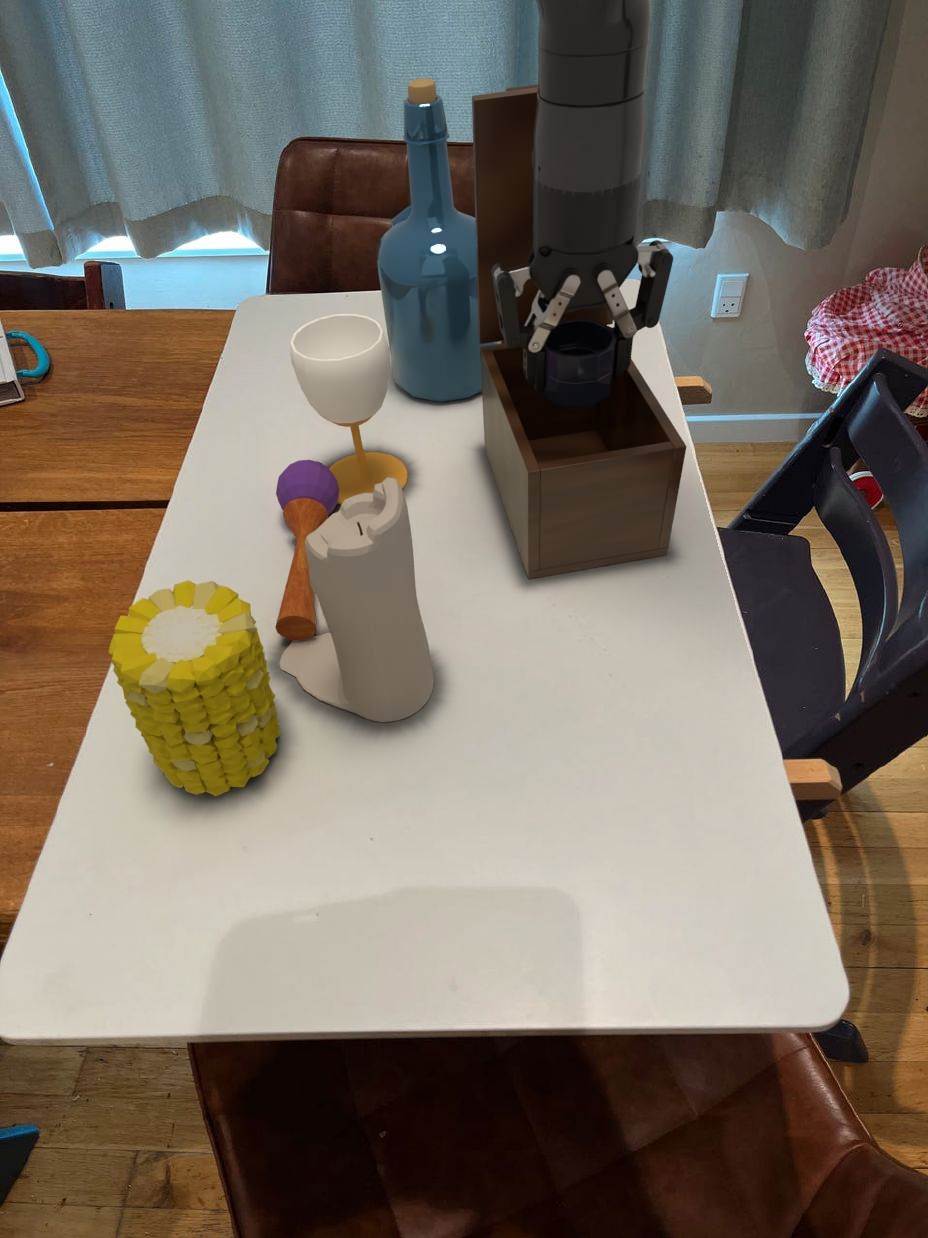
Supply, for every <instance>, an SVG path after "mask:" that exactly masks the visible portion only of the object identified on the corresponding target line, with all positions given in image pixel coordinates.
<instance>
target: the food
mask: <svg viewBox="0 0 928 1238" xmlns="http://www.w3.org/2000/svg"><path fill="white" fill-rule="evenodd" d="M256 623H257V621H256V620H255V618H254V617H253V616H252V612H251V603H249V602H247V601H245V600H243V599H241V598H239V593H238V592H236V591H234V590H233V589H231V588H230V587H228V586H224V585H219V584H218V583H216V582H215V581H214V580H209V581H205V582H202V583H197V584H196V583H194V582H193V581H191V580H190V579H188V580H185V581H181V582H178V583H175V584H174V585H173V589H171V588H168V587H167V588H163V589H157V590H156V591H154V592H153V593H152V594H150V595H149V596H148V599H147V598H144V597H142V598H140V599H139V600H138V601H136V602H135V603H133V604H132V605H131V606H129V607H128V615H123V614H122V615H120V616H119V619H118V620H117V622H116V625H115V626H114V633H113V635H112V638H111V640H110V644H109V647H108V654H109V655H110V656H111V657H112V658H111V660H110V663H111V664H112V666H114V667H113V668H112V671H113V672H114V674H115V676H116V677H117V680H116V683H117V684H118V686H120V687H121V688H122V692H123V697H124V700H125V701H124V702H125V704H126V707H127V708H128V709H129V711H130V716H131V717H132V718H133V719H134V720H135V724H134V725H135V727H134V728H136V729H137V730H138V731H139V732H140V736H141V737H142V738H143V740H144V742H145V744H146V746H147V748H148V752H149V753H150V754H151V755H152V756H153V761H152V762H153V763H154V765H155V766H156V767H157V768H158V769H159V770H160V771H161V772H162V773H163V774H164V778H165V779H166V780H168V781H169V783H170V784H171V785H172V786H173V787H175V788H180V789H181V788H182V787H184V791H185V792H187V793H190V794H192V795H196V796H197V795H201V794H204V793H205V792H206V793H208V794H210V795H212V796H214V797H217V796H220V795H221V794H225V793H228V792H229V791H230V790H231V787H232V788H245V786H246V784H247V783H248V781H249V780H250V779H251V778H255V777H257V776H259V775H261V774H262V773H264V771H265V769H266V768H267V766H268V764H269V763H270V760H269V759H268V758H271V757H272V756H273V755H275V754H276V750H277V748H278V743H277V741H276V739H277V738H279V736H280V735H281V731H280V725H279V723H280V721H279V719H278V714H277V712H276V702H275V701H274V700H275V698H276V694H275V693H274V691H273V689H272V687H271V686H270V681H271V676H270V672H269V671H268V664H267V663H268V662H267V659H265V656H266V655H265V651H264V649H265V648H264V645H263V644H262V642H261V638H260V635H259V632H258V627H257V626H256Z"/></svg>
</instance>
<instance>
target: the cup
mask: <svg viewBox="0 0 928 1238" xmlns="http://www.w3.org/2000/svg"><path fill="white" fill-rule="evenodd" d="M289 348H290V359H291V361H290V362H291V365H292V367H293V371H294V374H295V376H296V379H297V382H298V384H299V386H300V389H301V391H302V393H303V395H304V396H305V398H306V400H307V401H308V403H309V405H310V406H311V408H313V409H314V412H316V413H317V414H318V416H319V417H321V418H323V419H324V420H326V421H327V422H330V423H331V424H334V425H337V426H339V427H340V426H341V427H344V428H349V429H350V432H351V437H352V442H353V447H354V451H355V452H354V453H355V454H351V455H348V456H347V455H346V456H345V457H343V458H341V459H340V460H338V461H336V462H334V463H333V464H332V465H331V466H330V467H328V468H329V470H330V471H331V472H332V473H333V475H334V476H335V478H336V479H337V483H338V487H339V498H338V501H337V505H340V506H341V505H342V503H343V502H344V501H345V500H346V499H348V498H350V497H353V496H355V495H358V494H363V493H373V492H374V488H375V485H376V484H379V483H382V482H383V481H384V480H385V479H386V478H387V477H389V478H395V479H396V480H397V481H398V483H399V484H400V485H401V488H402V490H403V489H404V488H405V486H406V485H407V483H408V475H409V471H408V470H407V468H406V466H405V464H404V462H402V460H400V459H398V458H397V457H395V456H394V455H391V454H387V453H383V452H380V451H379V452H378V451H369V452H367V451H364V446H363V441H362V435H361V431H360V426H361V425H364V424H366V423H367V422H369V421H370V420H371V419H372V418H373V417H374V416H375V415H376V414H377V413H378V412H379V411H380V409H381V408H382V407H383V405H384V402H385V400H386V396H387V392H388V388H389V381H390V373H391V355H390V348H389V342H388V339H387V337H386V334H385V330H384V329H383V327H382V326H381V324H380V322H379V321H376V320H375V319H373V318H371V317H369V316H367V315H361V314H356V313H355V314H354V313H339V314H338V313H335V314H330V315H327V316H322V317H319V318H316V319H313V320H311V321H309V322H307V323H305V324H303V325H302V326H301V327H299V328H298V329H297V330H296V331H295V332H293V334H292V337H291V340H290V342H289Z"/></svg>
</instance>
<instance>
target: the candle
mask: <svg viewBox="0 0 928 1238" xmlns="http://www.w3.org/2000/svg"><path fill="white" fill-rule="evenodd" d="M408 508H409V507H408V504H407V500H406V497H405V494H404V490H403V489H402V488H401V485H400V484H399V483H398V481H397V480H396V479H395V478H389V477H387V478H386V479H385V480H384V481H383V482H382V483H379V484H376V485H375V488H374V492H373V493H363V494H358V495H355V496H353V497H350V498H348V499H346V500H345V501H344V502H343V503H342V505H340V508H339V510H338V511H336V512H334V513H332V514H331V515H329V516H328V519H327V520H326V521H325V522H324V523H323V524H322V525H321V526H320V527H319V528H317V529H316V530H315V531H314V532H312V533H311V534H309V535H308V536H307V537H306V540H305V551H306V556H307V560H308V564H309V577H310V586H311V588H312V590H313V594H315V596H316V597H317V600H318V603H319V606H320V609H321V612H322V615H323V617H324V618H323V619H324V620H325V622H326V625H327V628H328V630H329V632H326V633H323V634H321V635H312V636H311V637H310V638H307V639H305V640H291V642H290V644H289V645H288V646H287V647H286V648H285V649H284V651H283V653H282V655H281V657H280V660H279V667H280V669H281V670H283V671H284V672H286V673H288V674H289V675H291V676H293V677H295V678H296V680H297V682H298V684H299V685H300V686H301V688H302V689H303V690H304V692H305V693H307V694H309V695H310V696H312V697H313V698H315V699H317V700H318V701H319V702H322V703H325V704H328V705H331V706H332V707H335V708H339V709H341V710H344V711H347V712H350V713H354V714H356V715H358V716H359V717H362V718H364V719H366V720H370V721H374V722H380V723H390V722H397V721H400V720H403V719H406V718H408V717H410V716H412V715H414V714H416V713H418V712H419V711H420V710H421V709H422V708H423V707H424V706H425V705H426V703H427V702H428V701H429V700H430V697H432V693H433V690H434V685H435V684H434V682H435V681H434V674H433V673H434V672H433V667H432V660H431V654H430V648H429V647H430V645H429V642H428V637H427V633H426V628H425V626H424V622H423V618H422V615H421V611H420V607H419V601H418V596H417V587H416V575H415V573H416V572H415V560H414V545H413V537H412V527H411V522H410V515H409V509H408Z"/></svg>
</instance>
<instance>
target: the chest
mask: <svg viewBox="0 0 928 1238" xmlns="http://www.w3.org/2000/svg"><path fill="white" fill-rule="evenodd" d="M610 327H611V328H612V326H610ZM480 364H481V383H482V391H481V396H482V397H481V400H482V419H483V436H484V438H483V439H484V451H485V454H486V457H487V459H488V460H487V461H488V463H489V465H490V469H491V472H492V475H493V477H494V481H495V483H496V486H497V489H498V492H499V495H500V498H501V501H502V504H503V508H504V511H505V513H506V516H507V517H506V518H507V519H508V522H509V525H510V528H511V531H512V534H513V537H514V541H515V543H516V546H517V549H518V552H519V555H520V558H521V561H522V564H523V567H524V570H525V573H526V575H527V579H528V580H532V579H537V578H542V577H548V576H554V575H559V574H566V573H571V572H577V571H582V570H583V571H584V570H588V569H594V568H599V567H605V566H606V567H607V566H610V565H617V564H623V563H628V562H634V561H639V560H645V559H650V558H652V559H653V558H657V557H662V556H667V555H668V552H669V546H670V540H671V535H672V530H673V524H674V518H675V514H676V507H677V502H678V496H679V491H680V486H681V485H680V484H681V480H682V474H683V468H684V463H685V459H686V458H685V457H686V452H687V445H686V443H685V441H684V440H683V438H682V437H681V435H680V434H679V432H678V431H677V429H676V427H675V426H674V423H672V421H671V419H670V418H669V416H668V415H667V413H666V411H665V410H664V408H663V406H662V405H661V404H660V402H659V400H658V399H657V397H656V396H655V394H654V392H653V390H652V389H651V387H650V386H649V384H648V383H647V380H645V378H644V376H643V375H642V373H641V371H640V370H639V368H638V367H637V365H636V363H635V362H634V361H633V359H632V358H631V363H630V366H629V368H628V370H626V371H623V377H622V378H616V379H614V383H613V387H612V390H611V392H610V395H609V396H608V397H606V398H604V399H603V400H602V401H601V402H599V403H598V404H596V405H593V406H590V407H586V408H578V409H573V408H565V407H561V406H558V405H555V404H553V403H552V402H550V401H549V400H548V399H547V398H545V397H544V396H543V395H542V392H541V390H538V391H535V389H534V387H533V385H529V383H528V381H527V379H526V377H525V374H524V372H523V348H521V347H517V348H514V349H511V348H509V347H508V346H507V344H506V342H501V344H494V345H486V346H480Z"/></svg>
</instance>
